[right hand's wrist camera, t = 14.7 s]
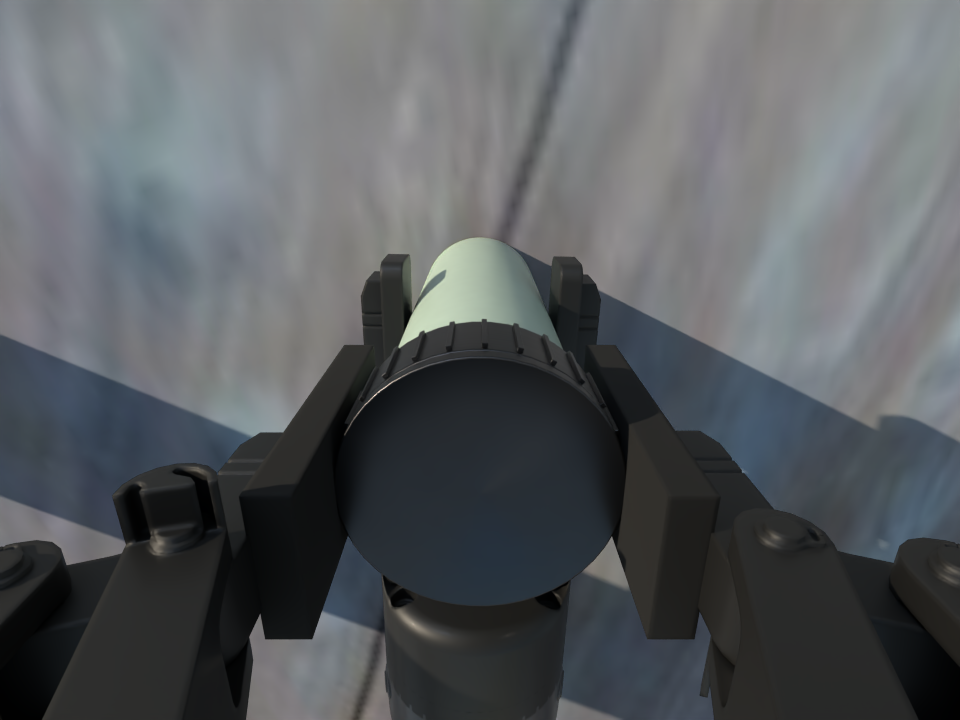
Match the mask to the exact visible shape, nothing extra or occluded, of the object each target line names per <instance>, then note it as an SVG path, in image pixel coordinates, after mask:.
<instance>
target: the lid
mask: <svg viewBox="0 0 960 720" xmlns="http://www.w3.org/2000/svg"><path fill="white" fill-rule="evenodd" d="M343 427H344V428H347V429H346V431H345V433H344V435H343V438H342V441H341V443H340V446H339V449H338V452H337V456H336V461H335V466H334V485H335V494H336V502H337V509H338V513H339V517H340V519H341V521H342V524H343V526H344V528H345V531H346V533H347V534H348V536H349V538H350V539H351V541H352V543H353V544H354V546H355V547H356V548H357V550H358V551H359V552H360V553H361V555H362V556H363V557H364V558H365V559H366V560H367V561H368V562H369V563H370V564H371V565H372V566H373V567H374V568H375V569H376V570H377V571H379V572H380V573H381V574H383V575H384V576H385V577H387V578H388V579H389V580H391V581H393V582H394V583H396V584H398V585H399V586H401V587H403V588H405V589H407V590H409V591H411V592H413V593H416V594H418V595H420V596H423V597H426V598H430V599H433V600H436V601H440V602H445V603H450V604H455V605H465V606H495V605H505V604H510V603H515V602H520V601H524V600H527V599H531V598H534V597H537V596H540V595H542V594H544V593H547V592H549V591H551V590H554V589H556V588H557V587H559V586H561V585H563V584H564V583H566V582H568V581H569V580H571V579H572V578H574V577H575V576H576V575H578V574H579V573H580V572H582V571H583V570H584V569H585V568H586V567H587V566H588V565H589V564H590V563H591V562H593V561H594V560H595V558H596V557H597V556H598V555H599V554H600V552H601V551H602V550H603V549H604V548H605V546H606V545H607V543H608V541H609V540H610V538H611V537H612V535H613V533H614V531H615V529H616V527H617V524H618V522H619V520H620V517H621V514H622V508H623V500H624V491H625V481H626V465H625V459H624V454H623V450H622V448H621V445H620V442H619V439H618V436H617V435H620V432H619V430H618V428H617V426H616V424H615V422H614V420H613V418H612V416H611V414H610V412H609V410H608V408H607V406H606V404H605V402H604V400H603V398H602V396H601V394H600V392H599V390H598V388H597V386H596V384H595V382H594V380H593V378H592V376H591V374H590V373H589V372H588V373H587V374H585V372H584V371H583V370H582V368H581V367H580V366H579V364H578V363H577V362H576V360H575V358H574V356H573V353H571V352H570V351H568V352H565V351H564V350H563V349H561V348H560V347H559V346H557V345H556V344H555V343H553V342H551V341H550V340H549V338H548V336H547V335H545V334H543V335H542V336H541V335H539V334H536V333H534V332H531V331H529V330H527V329H524V328H520V327H519V324H517V323H513V325H509V324H503V323H496V322H487V319H482V322H465V323H456V324H455V321H452V322H450V323H449V325H448V326H444V327H440V328H437V329H434V330H431V331H429V332H426V333H425V331H424V330H423V331H421V332H420V333H419V336H418V337H416V338H414V339H412V340H411V341H409V342H407V343H406V344H404V345H403V346H402V347H400V348H399V347H398V346H396V347H395V348H394V349H393V351H392V353H391V356H390V357H389V358H388V359H387V360H386V361H385V362H384V363H383V364H382V365H381V366H380V367H379V368H378V367H375V368H374V369H373V371H372V373H371V375H370V377H369V379H368V381H367V383H366V385H365V387H364V389H363V391H360V393H359V395H358V397H357V399H356V401H355V403H354V405H353V407H352V409H351V411H350V413H349V415H348V417H347V419H346V421H345V423H344V425H343Z"/></svg>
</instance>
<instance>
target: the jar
mask: <svg viewBox="0 0 960 720" xmlns="http://www.w3.org/2000/svg"><path fill="white" fill-rule="evenodd" d="M482 319H487V322H496V323H503V324H509V325H513V323H517V324H519V327H520V328H524V329H527V330H529V331H531V332H534V333H536V334H539V335H541V336H542V335H543V334H545V335H547V336H548V338H549V340H550V341H551V342H553V343H555V344H556V345H557V346H559V347H560V348H561V349H563V348H562V346H561V343H560V341H559V339H558V336H557V334H556V332H555V329H554V327H553V324H552V322H551V320H550V317H549V315H548V312H547V310H546V308H545V305H544V303H543V301H542V298H541V296H540V293H539V291H538V289H537V286H536V284H535V281H534V279H533V277H532V274H531V272H530V270H529V267H528V266H527V264H526V262H525V261H524V259H523V258H522V257H521V256H520V254H519V253H518V252H517V251H515V250H514V249H513V248H512V247H510V246H508V245H507V244H505V243H503V242H500V241H498V240H495V239H491V238H469V239H466V240H462V241H460V242H457V243H455V244H453V245H452V246H450V247H449V248H447V249H446V250H445V251H444V252H443V253H442V254H441V255H440V256H439V257H438V258H437V260H436V261H435V262H434V264H433V266H432V268H431V270H430V272H429V275H428V277H427V280H426V282H425V284H424V287H423V289H422V292H421V294H420V296H419V299H418V301H417V304H416V306H415V308H414V311H413V313H412V315H411V318H410V320H409V323H408V325H407V327H406V330H405V332H404V335H403V337H402V339H401V342H400V344H399V348H400V347H402V346H403V345H404V344H406V343H407V342H409V341H411V340H412V339H414V338H416V337H418V336H419V333H420V332H421V331H423V330H424V331H425V333H426V332H429V331H431V330H434V329H437V328H440V327H444V326H448V325H449V323H450V322H452V321H455V324H456V323H465V322H482Z"/></svg>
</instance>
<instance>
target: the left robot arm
mask: <svg viewBox="0 0 960 720" xmlns="http://www.w3.org/2000/svg"><path fill="white" fill-rule="evenodd" d="M600 303H601V299H600V296H599V292H598V289H597V286H596V284H595V282H594V281H593V280H592V279H591V278H590V277H589V276H588V275H583V269H582V265H581V263H580V262H579V261H578V260H577V259H576V258H575V257H553V261H552V271H551V286H550V301H549V317H550V320H551V322H552V324H553V327H554V329H555V332H556V334H557V336H558V339H559V341H560V343H561V346H562V348H563V350H564V351H565V352H568V351H570V352H571V353H573V356H574V358H575V360H576V362H577V363H578V364H579V366H580V367H581V368H582V370H583V371H584V361H585V347H586V345H596V342H597V332H598V330H597V329H598V322H599V313H600ZM361 304H362V320H363V336H364V345H374V352H375V365H376V367H378V368H379V367H380V366H381V365H382V364H383V363H384V362H385V361H386V360H387V359H388V358H389V357H390V356H391V353H392V351H393V349H394V348H395V347H396V346H398V347H399V344H400V342H401V339H402V337H403V335H404V332H405V330H406V327H407V325H408V323H409V320H410V318H411V315H412V290H411V261H410V255H409V254H388V255H387V256H386V257H385V258H384V260H383V261H382V262H381V267H380V272H379V271H374V273H373V274H372V275H371V276H370V277H369V278H368V279H367V281H366V283H365V286H364V289H363V292H362V295H361ZM570 582H571V580H569V581H568V582H566V583H564V584H563V585H561V586H559V587H557V588H556V589H554V590H551V591H549V592H547V593H544V594H542V595H540V596H537V597H534V598H531V599H527V600H524V601H520V602H515V603H510V604H505V605H495V606H465V605H455V604H450V603H445V602H440V601H436V600H433V599H430V598H426V597H423V596H420V595H418V594H416V593H413V592H411V591H409V590H407V589H405V588H403V587H401V586H399V585H398V584H396V583H394V582H393V581H391V580H389V579H388V578H387V577H385V576H384V575H383V574H382V589H383V606H384V624H385V642H386V659H387V664H386V671H385V685H386V692H387V693H388V697H389V705H390V713H391V718H392V720H556V716H557V710H558V703H559V699H560V697H561V695H562V686H563V677H564V670H563V666H562V663H563V653H564V643H565V633H566V622H567V612H568V602H569V592H570Z"/></svg>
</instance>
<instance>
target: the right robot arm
mask: <svg viewBox="0 0 960 720" xmlns="http://www.w3.org/2000/svg"><path fill="white" fill-rule="evenodd" d="M375 367H376V365H375V352H374V345H344V346H343V348H342V349H341V351H340V352H339V354H338V355H337V356H336V358H335V359H334V361H333V362H332V364H331V365H330V366H329V368H328V369H327V371H326V372H325V374H324V375H323V376H322V378H321V379H320V381H319V382H318V384H317V385H316V386H315V388H314V389H313V391H312V392H311V394H310V395H309V396H308V398H307V399H306V401H305V402H304V404H303V405H302V406H301V408H300V409H299V411H298V412H297V414H296V415H295V417H294V418H293V419H292V421H291V422H290V424H289V425H288V427H287V428H286V429H285V431H284V432H283V433H259V434H257V435H256V436H254V437H253V438H251V439H249V440H248V441H246V442H244V443H243V444H241V445H240V446H239V447H238V449H237V450H236V451H235V452H234V453H233V455H232V456H231V457H230V458H229V460H228V463H225V464H224V466H223V467H222V468H221V469H220V471H219V472H218V475H217V474H216V472H215V471H214V470H213V469H211V468H210V467H209V466H206V465H201V464H196V463H185V464H173V465H169V466H164V467H159V468H156V469H153V470H151V471H148V472H145V473H143V474H140V475H138V476H136V477H134V478H133V479H131V480H130V481H128V482H126V483H125V484H123V485H122V486H121V487H120V488H119V489H118V490H117V491H116V492H115V493H114V494H113V495H112V497H113V501H114V504H115V508H116V511H117V515H118V518H119V522H120V525H121V529H122V532H123V536H124V539H125V543H126V546H125V548H124V550H123V552H122V554H118V555H114V556H110V557H105V558H101V559H96V560H91V561H86V562H81V563H76V564H71V565H66V562H65V559H64V556H63V554H62V551H61V548H59V547H58V546H57V545H55V544H54V543H53V542H47V541H39V540H35V541H27V542H20V543H13V544H9V545H5V547H0V720H246V715H247V707H248V698H249V690H250V682H251V674H252V666H253V656H252V649H251V644H250V639H249V636H250V634H251V632H252V630H253V627H254V625H255V623H256V621H257V619H258V617H259V615H260V614H261V619H262V624H263V630H264V635H265V639H312V638H313V635H314V633H315V630H316V627H317V624H318V621H319V618H320V615H321V612H322V609H323V606H324V603H325V601H326V598H327V595H328V592H329V589H330V586H331V583H332V580H333V577H334V574H335V571H336V568H337V566H338V563H339V560H340V557H341V554H342V551H343V548H344V545H345V542H346V539H347V536H348V534H347V533H346V531H345V528H344V526H343V524H342V521H341V519H340V517H339V513H338V509H337V502H336V494H335V485H334V466H335V461H336V456H337V452H338V449H339V446H340V443H341V441H342V438H343V435H344V433H345V431H346V429H347V428H344V427H343V425H344V423H345V421H346V419H347V417H348V415H349V413H350V411H351V409H352V407H353V405H354V403H355V401H356V399H357V397H358V395H359V393H360V391H363V389H364V387H365V385H366V383H367V381H368V379H369V377H370V375H371V373H372V371H373V369H374V368H375ZM584 372H585V374H587V373H588V372H589V373H590V374H591V376H592V378H593V380H594V382H595V384H596V386H597V388H598V390H599V392H600V394H601V396H602V398H603V400H604V402H605V404H606V406H607V408H608V410H609V412H610V414H611V416H612V418H613V420H614V422H615V424H616V426H617V428H618V430H619V432H620V435H617V436H618V439H619V442H620V445H621V448H622V450H623V454H624V459H625V465H626V481H625V491H624V500H623V508H622V514H621V517H620V520H619V522H618V524H617V527H616V529H615V531H614V533H613V535H612V537H613V540H614V543H615V546H616V549H617V552H618V555H619V558H620V561H621V564H622V567H623V569H624V572H625V575H626V578H627V581H628V584H629V587H630V590H631V593H632V596H633V599H634V602H635V604H636V607H637V610H638V613H639V616H640V619H641V622H642V625H643V628H644V631H645V634H646V636H647V639H695V633H696V628H697V623H698V617H699V612H700V613H701V615H702V617H703V619H704V621H705V623H706V625H707V627H708V630H709V632H710V634H711V639H710V644H709V649H708V654H707V659H706V664H705V669H704V674H703V679H702V684H701V691H700V696H703V697H708V692H709V687H710V689H711V697H712V705H713V713H714V720H960V544H955V543H954V542H950V541H945V540H938V539H930V538H917V539H909V540H907V541H906V542H904V543H903V544H902V545H900V546H899V549H898V552H897V555H896V558H895V561H894V563H891V562H886V561H881V560H876V559H871V558H867V557H862V556H857V555H852V554H847V553H844V552H840V551H837V549H836V547H835V545H834V544H833V542H832V541H831V540H830V538H829V537H828V536H827V535H826V533H825V532H823V531H822V530H821V529H819V528H818V527H816V526H815V525H814V524H812V523H811V522H809V521H807V520H805V519H802V518H800V517H798V516H796V515H793V514H791V513H787V512H783V511H778V510H774V509H773V508H772V506H771V505H770V504H769V503H768V501H767V500H766V499H765V498H764V497H763V495H762V494H761V493H760V492H759V490H758V489H757V488H756V487H755V486H754V484H753V483H752V482H751V481H750V480H749V478H748V477H747V476H746V475H745V473H742V470H741V469H740V467H739V466H738V465H737V464H736V462H735V461H732V458H731V456H730V455H729V454H728V453H727V452H726V450H725V449H724V448H723V447H722V445H721V444H720V443H718V442H717V441H715V440H714V439H712V438H710V437H709V436H707V435H705V434H704V433H702V432H701V431H675V430H674V428H673V427H672V426H671V424H670V423H669V421H668V420H667V418H666V417H665V416H664V414H663V413H662V411H661V410H660V408H659V407H658V406H657V404H656V403H655V401H654V400H653V398H652V397H651V396H650V394H649V393H648V391H647V390H646V388H645V387H644V386H643V384H642V383H641V381H640V380H639V378H638V377H637V376H636V374H635V373H634V371H633V370H632V368H631V367H630V365H629V364H628V363H627V361H626V360H625V358H624V357H623V355H622V354H621V353H620V351H619V350H618V348H617V347H616V345H586V347H585V361H584Z"/></svg>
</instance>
